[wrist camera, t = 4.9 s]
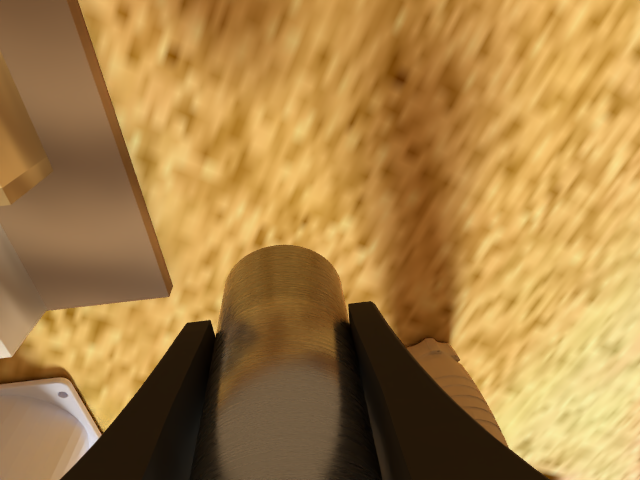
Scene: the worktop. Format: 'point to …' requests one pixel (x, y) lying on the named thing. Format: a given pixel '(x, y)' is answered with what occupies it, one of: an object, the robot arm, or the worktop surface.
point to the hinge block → (64, 178)
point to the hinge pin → (284, 377)
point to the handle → (455, 382)
